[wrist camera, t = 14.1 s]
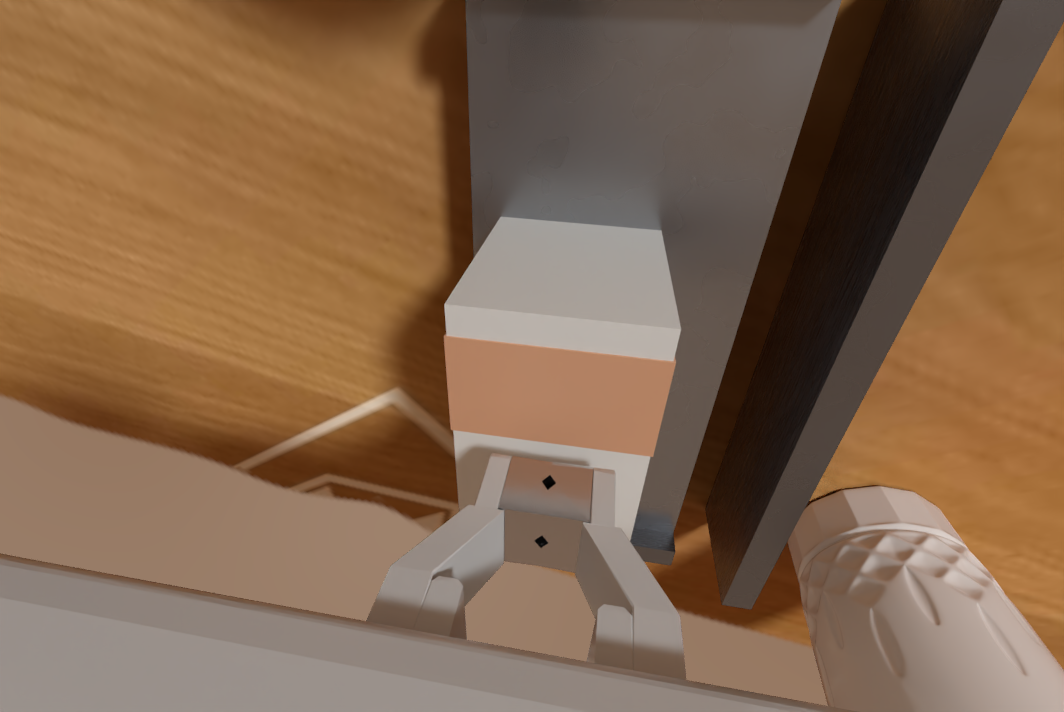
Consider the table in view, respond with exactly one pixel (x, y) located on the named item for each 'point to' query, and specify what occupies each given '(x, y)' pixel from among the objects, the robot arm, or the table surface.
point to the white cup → (912, 612)
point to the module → (562, 352)
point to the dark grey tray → (749, 203)
